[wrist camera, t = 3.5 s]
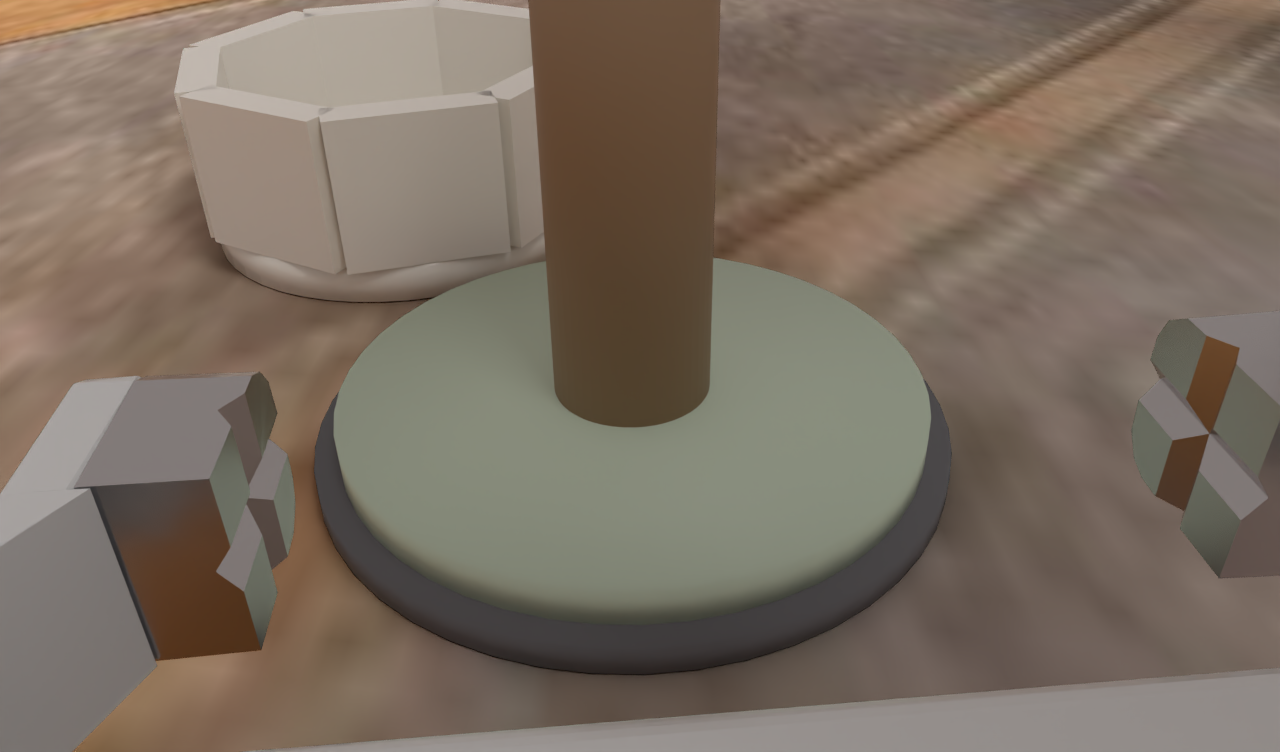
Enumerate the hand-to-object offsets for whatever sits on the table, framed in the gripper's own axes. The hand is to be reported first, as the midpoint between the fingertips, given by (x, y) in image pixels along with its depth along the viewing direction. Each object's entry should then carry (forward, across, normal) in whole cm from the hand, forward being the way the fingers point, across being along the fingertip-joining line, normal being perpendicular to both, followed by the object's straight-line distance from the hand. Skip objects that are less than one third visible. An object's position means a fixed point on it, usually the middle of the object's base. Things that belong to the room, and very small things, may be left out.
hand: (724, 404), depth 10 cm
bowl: (+22, +6, +8) cm, 24 cm away
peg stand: (+10, 0, +7) cm, 13 cm away
